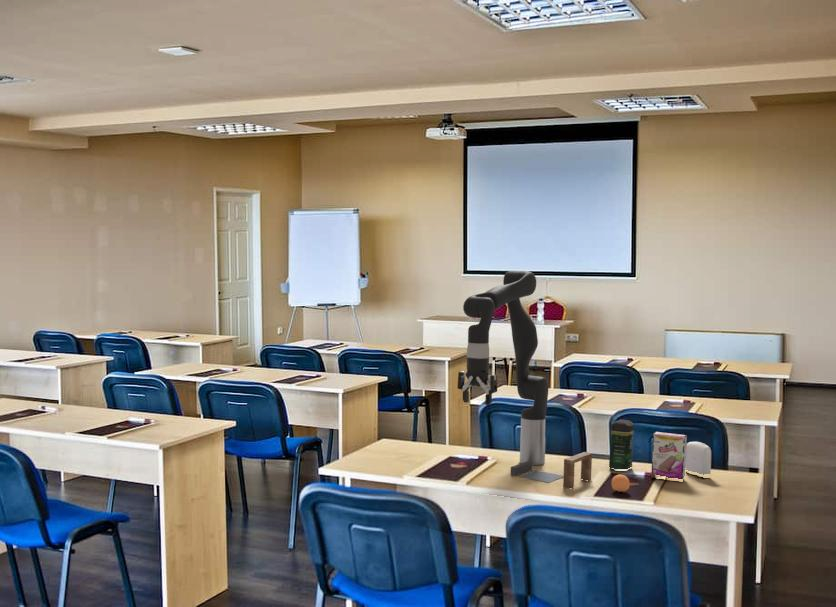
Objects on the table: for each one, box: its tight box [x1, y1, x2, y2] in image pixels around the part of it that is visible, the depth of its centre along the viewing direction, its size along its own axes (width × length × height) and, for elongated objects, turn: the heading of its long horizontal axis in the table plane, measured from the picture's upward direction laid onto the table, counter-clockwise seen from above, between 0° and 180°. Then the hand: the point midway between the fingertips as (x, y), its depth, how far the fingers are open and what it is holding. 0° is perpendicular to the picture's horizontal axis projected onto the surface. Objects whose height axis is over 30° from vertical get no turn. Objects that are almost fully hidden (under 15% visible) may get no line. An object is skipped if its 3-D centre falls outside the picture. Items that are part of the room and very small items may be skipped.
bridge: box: [562, 451, 593, 489], centre depth 299 cm, size 3×15×10 cm, turn 142°
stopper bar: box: [509, 461, 533, 477], centre depth 313 cm, size 12×2×3 cm, turn 142°
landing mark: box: [518, 470, 564, 484], centre depth 308 cm, size 12×12×1 cm
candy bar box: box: [651, 431, 688, 479], centre depth 308 cm, size 11×5×16 cm, turn 65°
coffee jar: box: [608, 418, 635, 469], centre depth 321 cm, size 10×8×19 cm
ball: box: [611, 473, 631, 492], centre depth 289 cm, size 6×6×6 cm
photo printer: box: [685, 441, 712, 475], centre depth 315 cm, size 10×4×12 cm, turn 26°
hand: (476, 403), depth 291 cm, fingers open, 8 cm apart
